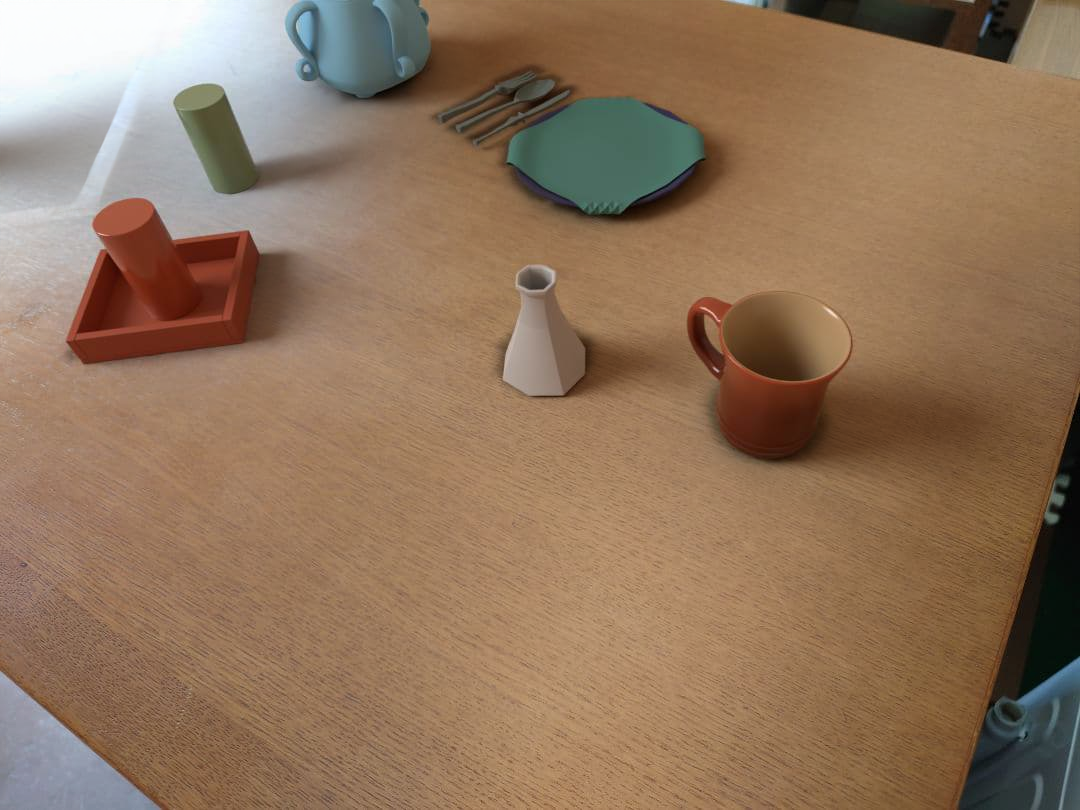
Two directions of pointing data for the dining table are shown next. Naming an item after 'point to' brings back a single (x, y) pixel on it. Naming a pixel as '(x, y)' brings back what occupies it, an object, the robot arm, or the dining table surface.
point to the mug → (770, 366)
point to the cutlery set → (593, 147)
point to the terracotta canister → (148, 258)
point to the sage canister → (216, 137)
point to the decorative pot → (359, 42)
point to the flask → (542, 339)
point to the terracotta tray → (219, 319)
